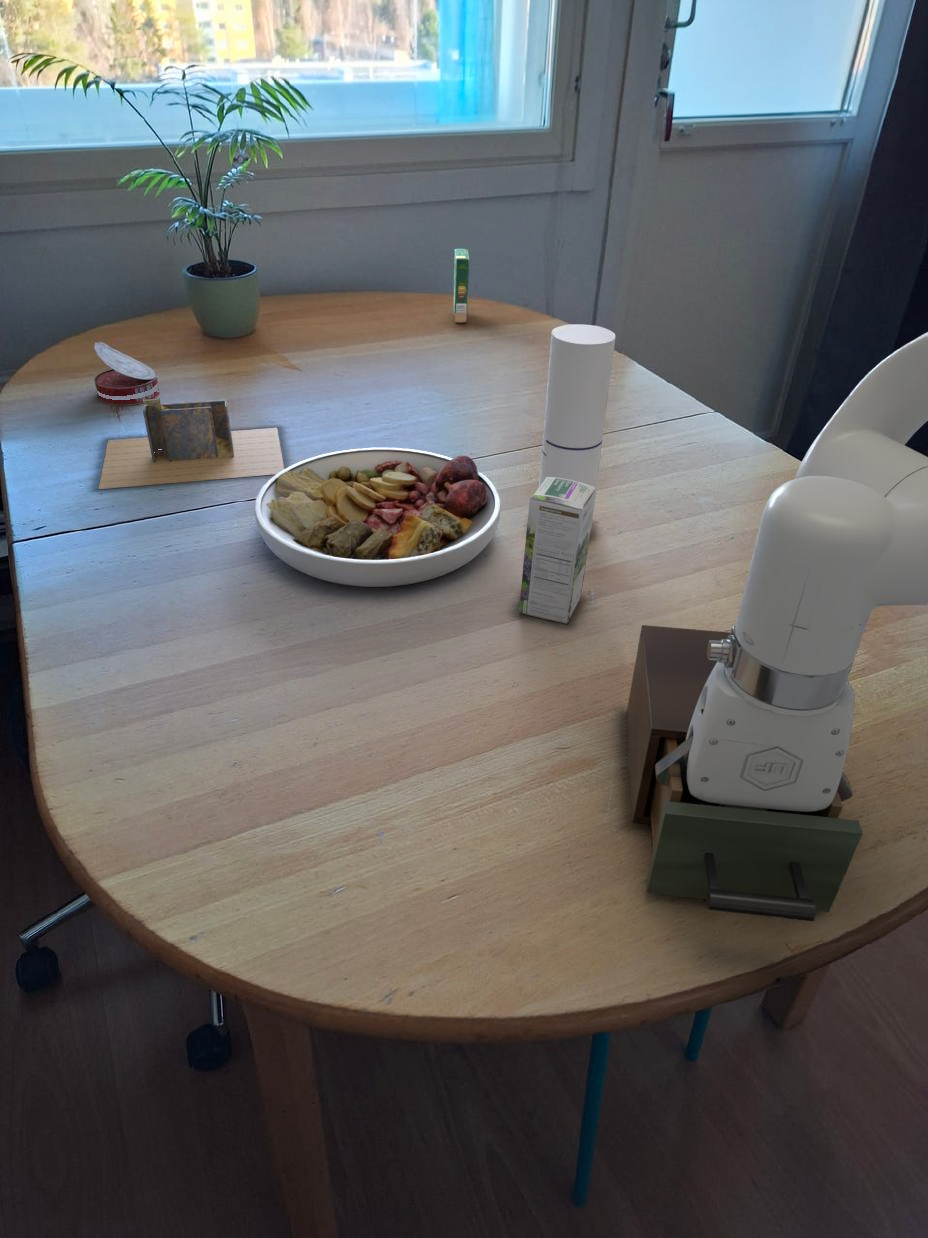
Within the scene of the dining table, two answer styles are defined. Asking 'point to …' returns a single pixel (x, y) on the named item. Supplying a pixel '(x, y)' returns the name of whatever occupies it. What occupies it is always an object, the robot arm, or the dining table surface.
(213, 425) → the ruin model on sheet
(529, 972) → the dining table surface
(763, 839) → the drawer
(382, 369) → the dining table surface
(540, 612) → the syrup box
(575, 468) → the cylindrical container
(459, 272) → the coffee box
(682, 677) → the cabinet
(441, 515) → the bowl
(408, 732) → the dining table surface
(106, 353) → the canned food
